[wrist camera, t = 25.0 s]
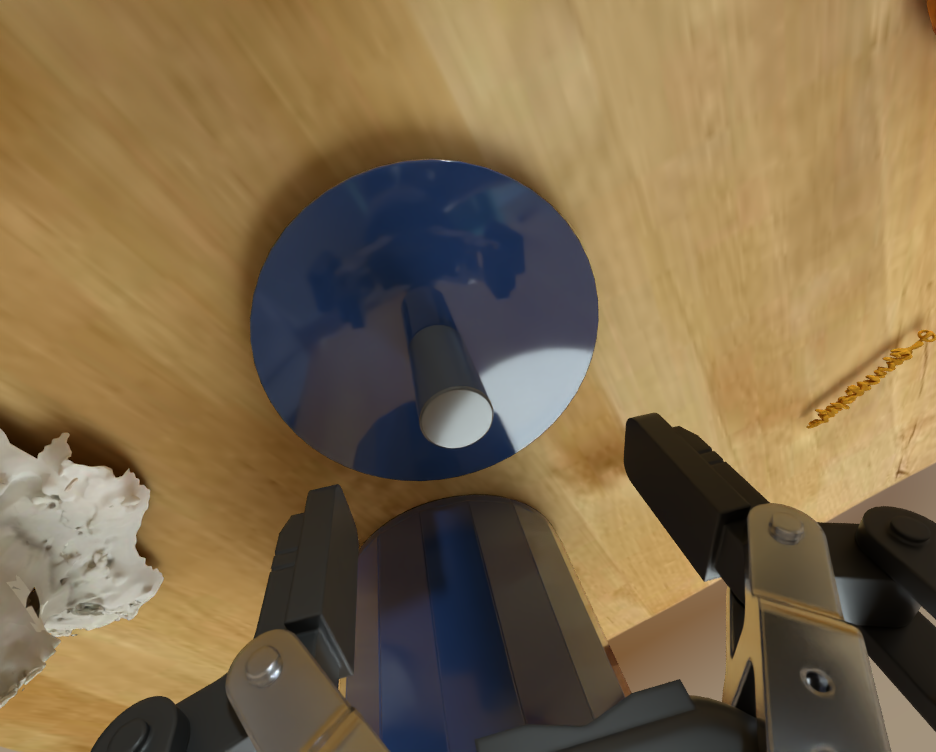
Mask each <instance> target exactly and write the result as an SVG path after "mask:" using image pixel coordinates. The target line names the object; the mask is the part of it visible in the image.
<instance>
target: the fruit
mask: <svg viewBox="0 0 936 752" xmlns="http://www.w3.org/2000/svg"><path fill="white" fill-rule="evenodd" d="M927 9H928V13H929V17H930V20H931V23H932V27H933V31H934V33H935V34H936V0H927Z"/></svg>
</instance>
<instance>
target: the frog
mask: <svg viewBox="0 0 936 752" xmlns="http://www.w3.org/2000/svg"><path fill="white" fill-rule="evenodd" d="M69 436H70V435H69V433H62V434H61V436H60V437H59V438H56V439H53V440H52V443H51V444H50V445H46V446H45V447H44V451H43V452H41V453H39V454H38V458H35V457H33V456H31V455H29V454H28V453H26V452H24V451H22V450H20V449H19V448H17V447H15V446H13V445H12V444H10V443H9V440H8V438H7V436H6V434H5V433H4V432H3V431H2V430H1V429H0V708H1V707H3V706H4V705H5V704H6V703H7V702H8V700H9V699H10V698H12V697H14V696H15V695H16V694H17V691H18V689H19V688H20V687H21V686H22V685H23V684H27V683H28V682H30V681H31V680H32V679H33V678H34V677H35V676H36V675H37V674H38V673H40V672H41V671H42V670H43V668H44V667H45V666H46V663H45V661H46V660H47V659H48V658H49V657H50V656H52V655H53V654H54V653H55V652H56V650H55V648H56V647H57V645H58V644H59V643H60V642H61V640H60V639H58V638H56V637H60V636H69V635H71V632H72V630H74V629H77V628H79V629H82V628H84V629H86V630H92V629H94V628H100V627H102V626H105V625H108V624H110V623H112V622H113V621H114V620H115V621H119V620H120V618H124V619H127V620H131V619H133V618H134V617H135V616H136V615H137V612H138V609H139V608H140V607H141V606H142V605H143V604H144V603H145V602H147V601H148V600H150V598H152V597H153V596H154V595H155V594H156V592H157V591H158V589H159V587H160V585H161V583H162V582H163V580H164V577H162V573H160V572H159V571H158V568H156V569H154V570H152V566H147V565H146V564H145V560H146V558H143V557H140V556H139V555H138V553H137V550H136V548H135V544H136V542H137V540H136V533H137V531H138V529H139V527H140V526H141V520H142V517H143V515H144V512H145V511H146V510H147V509H148V501H149V499H150V489H147V488H146V487H145V486H144V485H139V479H137V478H136V477H135V474H134V472H133V473H130V469H128V470H127V471H126V472H125V473H124V475H123V476H119V477H116V478H115V475H114V474H113V470H112V469H111V468H109V467H107V466H93V467H89V466H86V465H78V464H75V463H73V462H72V461H70V460H68V457H71V454H72V452H71V450H70V446H69V445H68V444H67V439H68V437H69ZM34 587H35V589H36V590H35V591H33V592H31V591H32V589H33V588H34ZM50 633H51V634H50ZM71 636H74V635H73V634H72V635H71ZM75 636H77V634H75ZM23 690H24V688H23ZM23 690H22V691H23Z"/></svg>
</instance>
